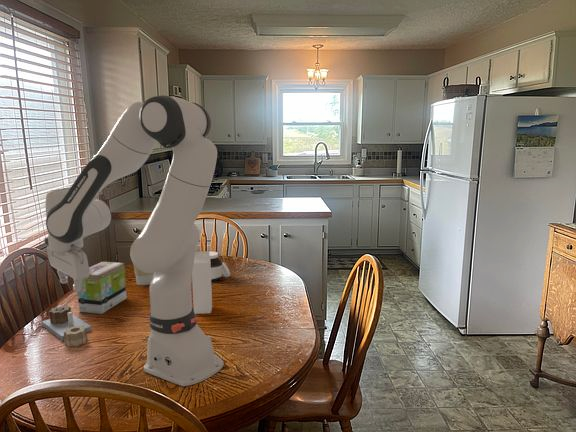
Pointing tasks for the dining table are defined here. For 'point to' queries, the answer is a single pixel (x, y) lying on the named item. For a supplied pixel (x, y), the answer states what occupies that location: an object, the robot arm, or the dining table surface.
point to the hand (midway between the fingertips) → (70, 286)
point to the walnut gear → (59, 315)
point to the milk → (202, 283)
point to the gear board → (64, 324)
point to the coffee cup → (143, 277)
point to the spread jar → (217, 267)
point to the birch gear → (75, 335)
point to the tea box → (102, 288)
